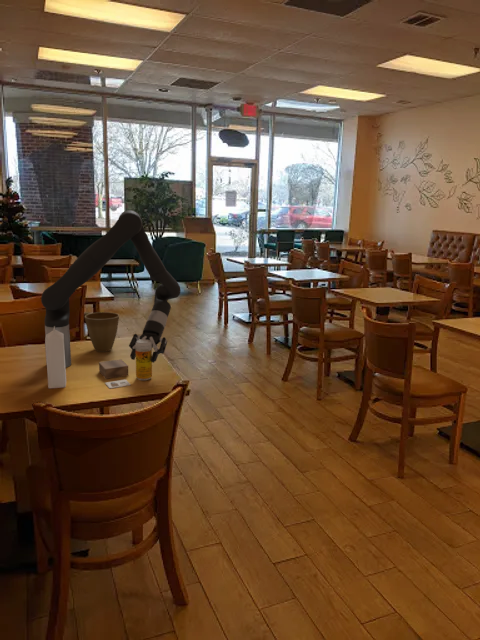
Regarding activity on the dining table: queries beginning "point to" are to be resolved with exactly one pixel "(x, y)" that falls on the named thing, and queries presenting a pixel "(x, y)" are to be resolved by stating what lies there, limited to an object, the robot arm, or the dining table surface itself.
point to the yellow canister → (143, 359)
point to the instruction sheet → (117, 384)
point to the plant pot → (102, 329)
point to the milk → (55, 359)
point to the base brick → (113, 368)
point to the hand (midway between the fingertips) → (142, 360)
